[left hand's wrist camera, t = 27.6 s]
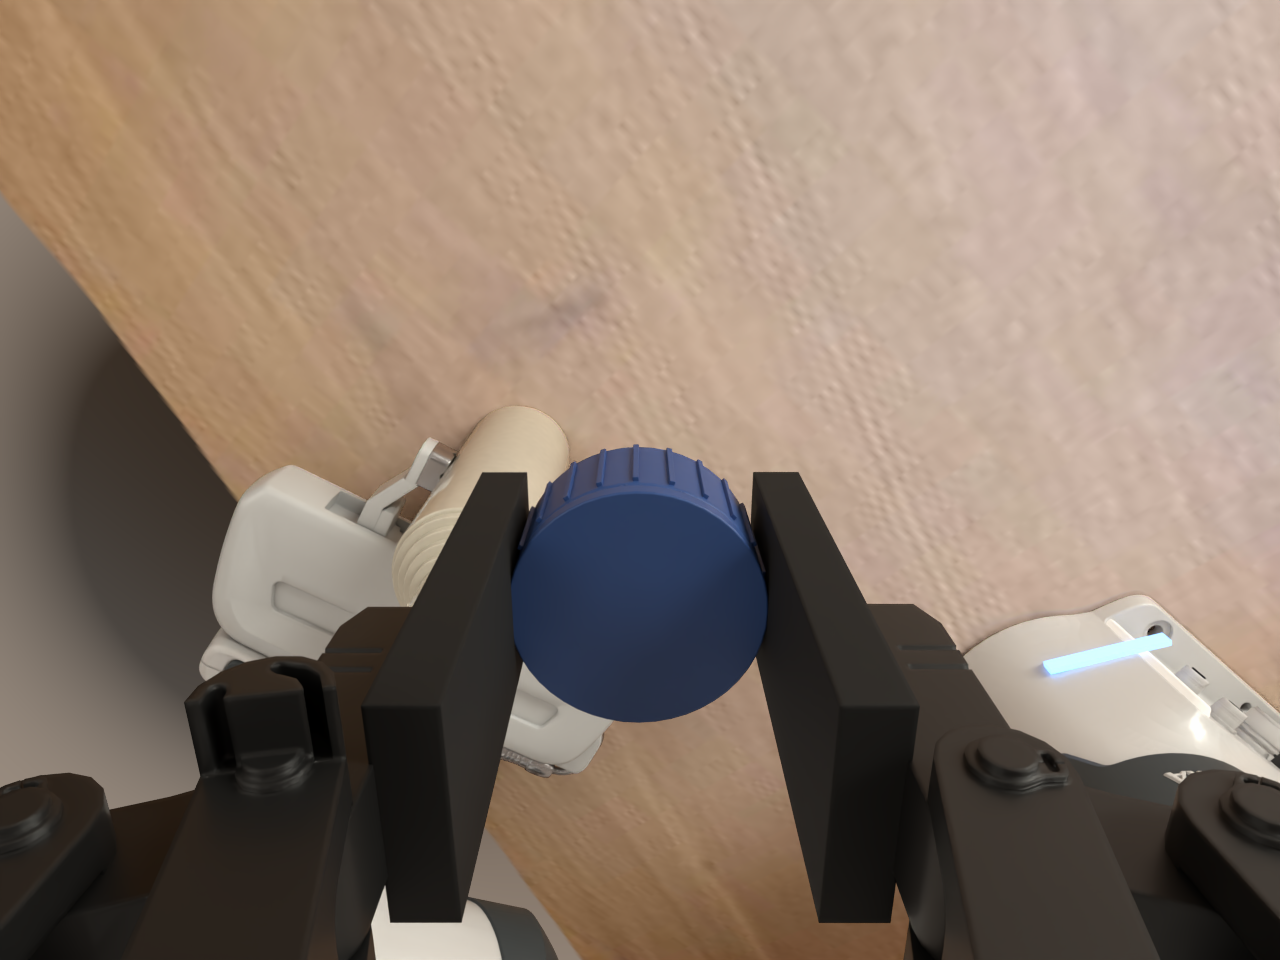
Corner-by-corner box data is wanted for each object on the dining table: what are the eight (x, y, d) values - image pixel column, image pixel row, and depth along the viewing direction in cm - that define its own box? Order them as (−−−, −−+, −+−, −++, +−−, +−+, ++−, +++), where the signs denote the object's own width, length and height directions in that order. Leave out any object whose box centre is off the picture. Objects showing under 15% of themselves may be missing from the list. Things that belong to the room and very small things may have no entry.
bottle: (447, 443, 44) (312, 625, 26) (528, 385, 43) (447, 532, 25) (510, 520, 46) (425, 744, 27) (590, 466, 45) (557, 661, 26)
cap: (735, 664, 15) (748, 738, 13) (514, 641, 15) (494, 713, 13) (773, 456, 14) (795, 505, 12) (530, 429, 14) (512, 473, 12)
